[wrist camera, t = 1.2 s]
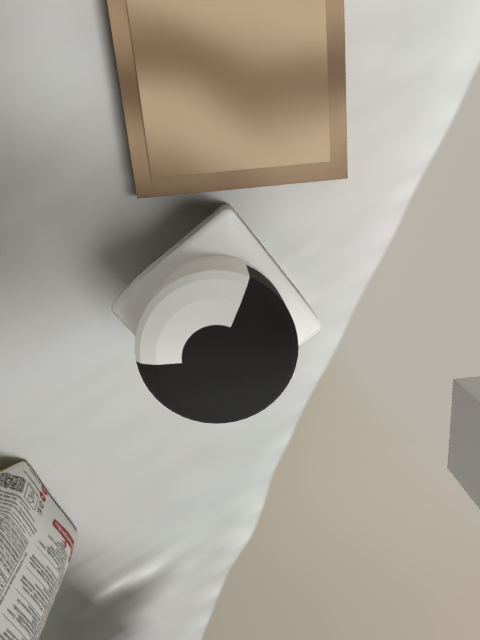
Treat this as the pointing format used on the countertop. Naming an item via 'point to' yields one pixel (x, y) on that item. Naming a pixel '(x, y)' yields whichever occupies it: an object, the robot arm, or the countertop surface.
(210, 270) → the container
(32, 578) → the juice carton
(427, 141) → the countertop surface
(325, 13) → the stand
